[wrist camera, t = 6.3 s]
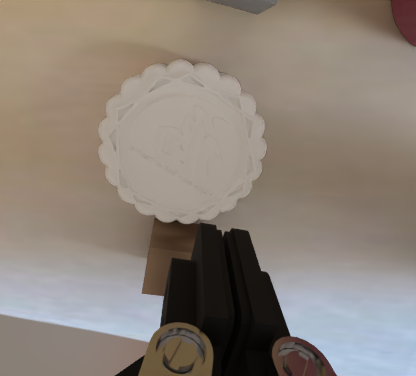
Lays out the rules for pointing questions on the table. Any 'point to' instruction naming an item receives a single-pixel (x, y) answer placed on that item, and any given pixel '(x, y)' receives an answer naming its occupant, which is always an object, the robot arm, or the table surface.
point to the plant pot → (405, 18)
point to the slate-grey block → (248, 4)
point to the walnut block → (166, 252)
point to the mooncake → (182, 141)
